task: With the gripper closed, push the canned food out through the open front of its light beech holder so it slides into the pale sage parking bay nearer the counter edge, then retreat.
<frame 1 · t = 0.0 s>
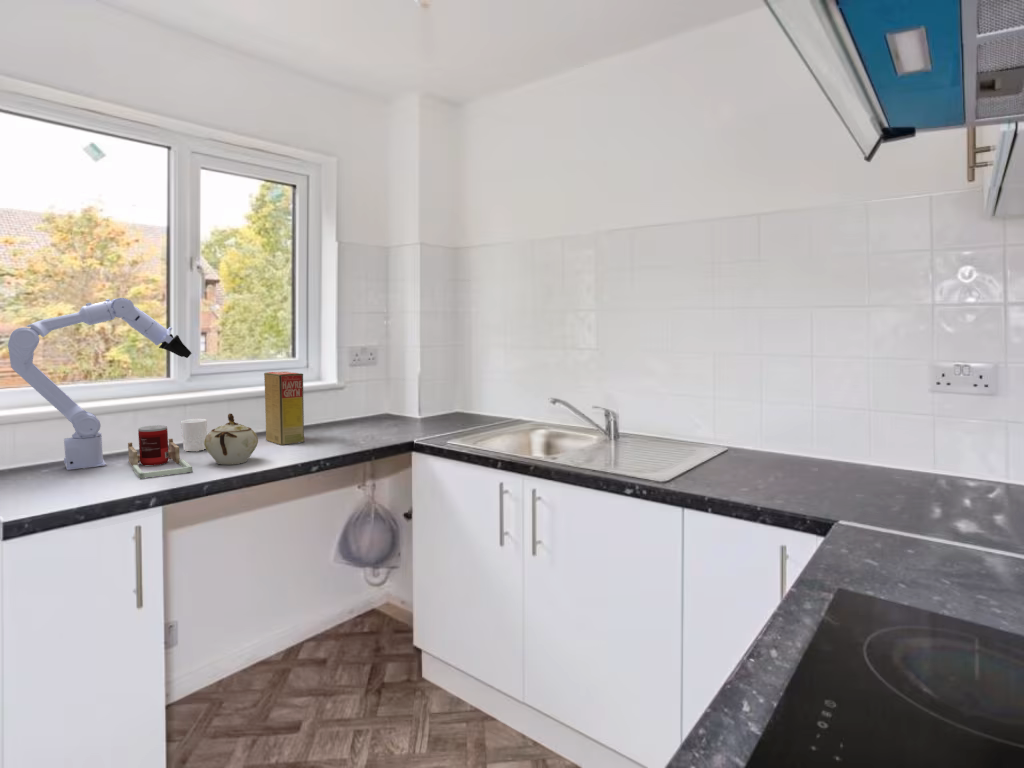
hand: (186, 355, 196), 32 cm above the worktop, tool tilted 50°, fingers open, 7 cm apart
food packaging: (285, 441, 221), on the worktop
canned food: (154, 463, 186), on the worktop
white cup: (195, 450, 206), on the worktop
holder: (154, 462, 186), on the worktop
sugar bowl: (232, 462, 188), on the worktop
bay: (162, 470, 176), on the worktop
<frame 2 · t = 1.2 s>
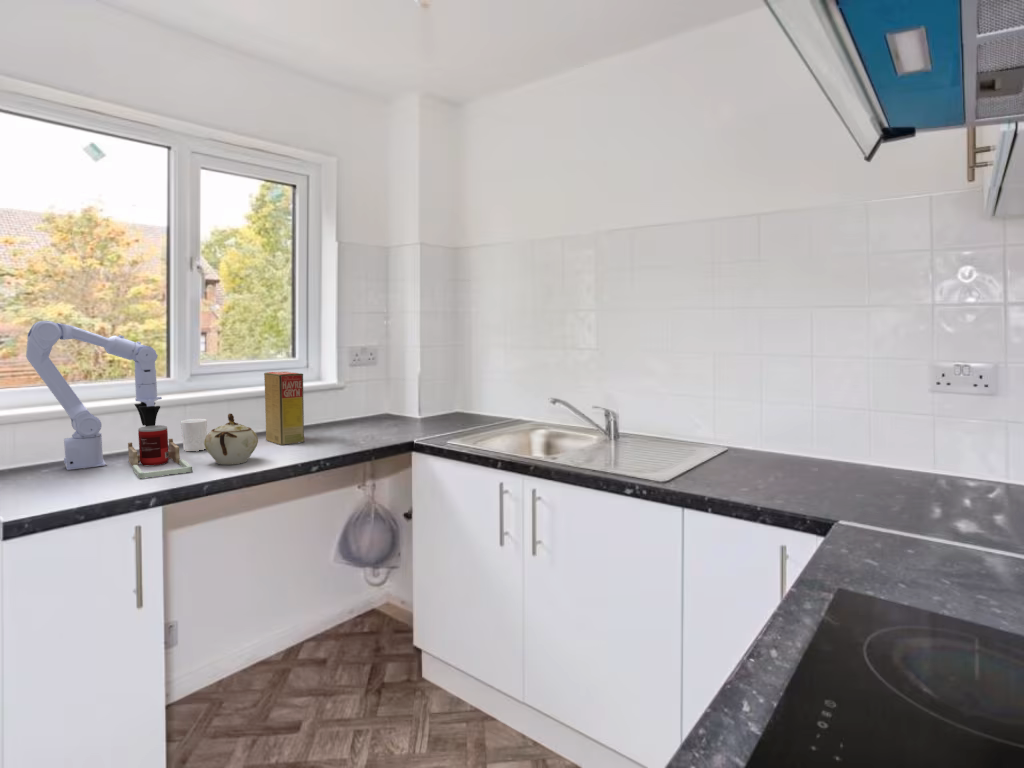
hand: (148, 426, 192), 10 cm above the worktop, tool pointing down, fingers open, 7 cm apart
nothing on the worktop moved.
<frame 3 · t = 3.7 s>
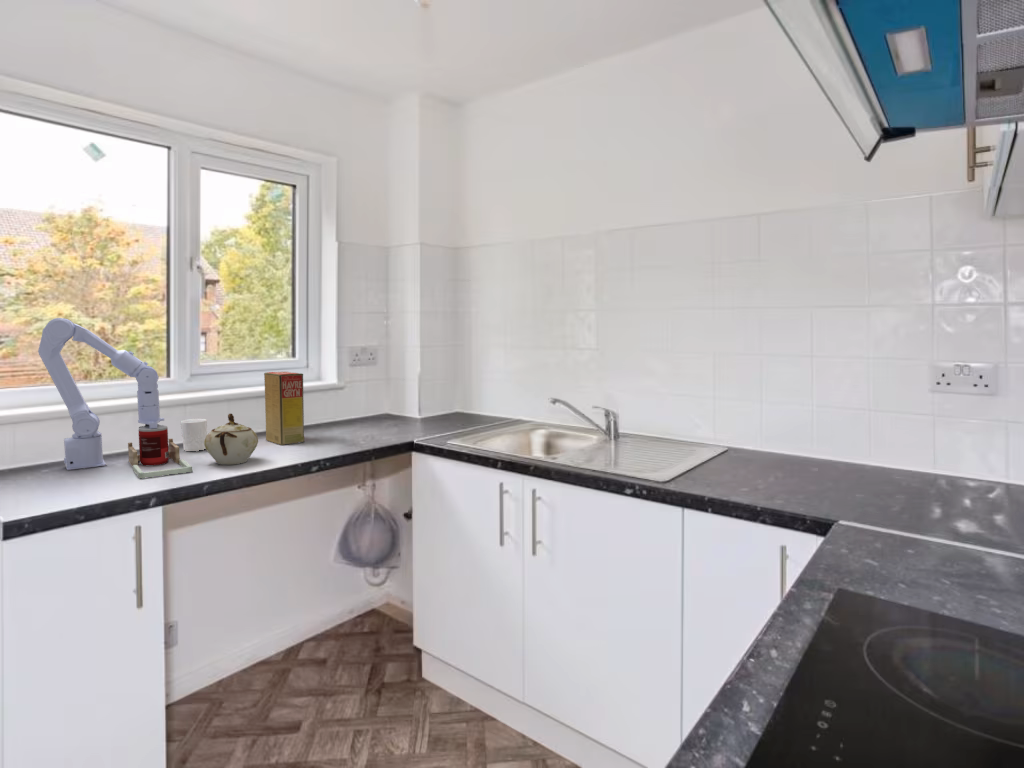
hand: (151, 448, 191), 3 cm above the worktop, tool pointing down, fingers closed
canned food: (154, 463, 186), on the worktop, touching gripper
everything else where it was.
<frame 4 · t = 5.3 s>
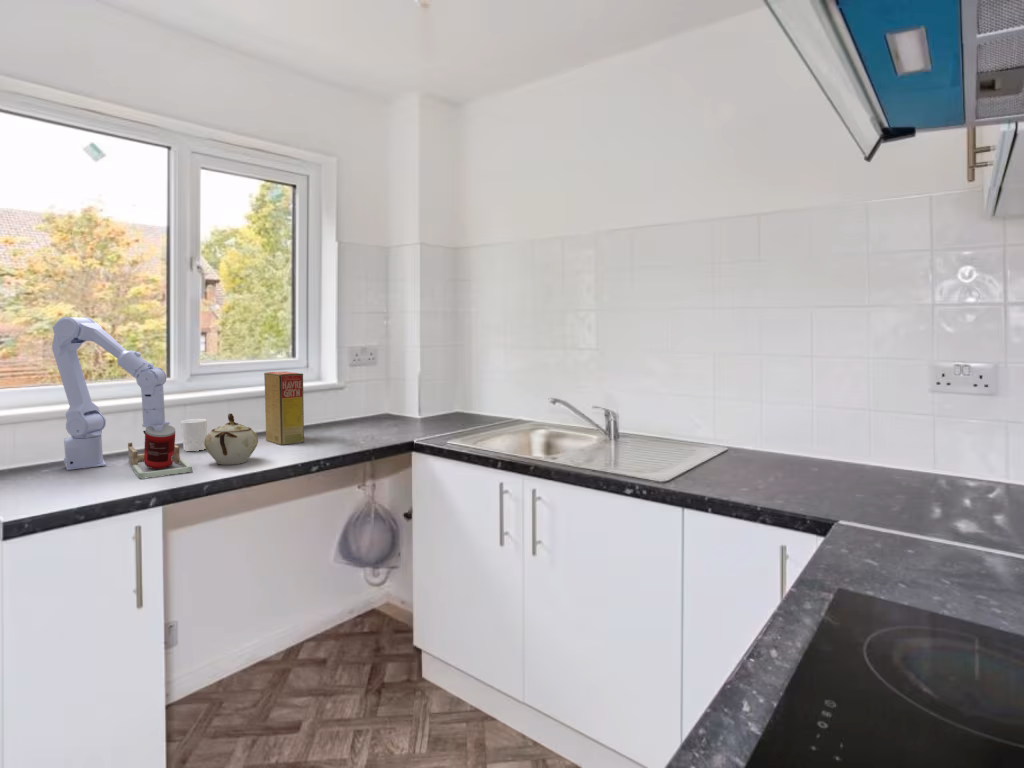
hand: (155, 453, 183), 3 cm above the worktop, tool pointing down, fingers closed
canned food: (158, 463, 181), point 1 cm above the worktop, touching gripper
everything else where it was.
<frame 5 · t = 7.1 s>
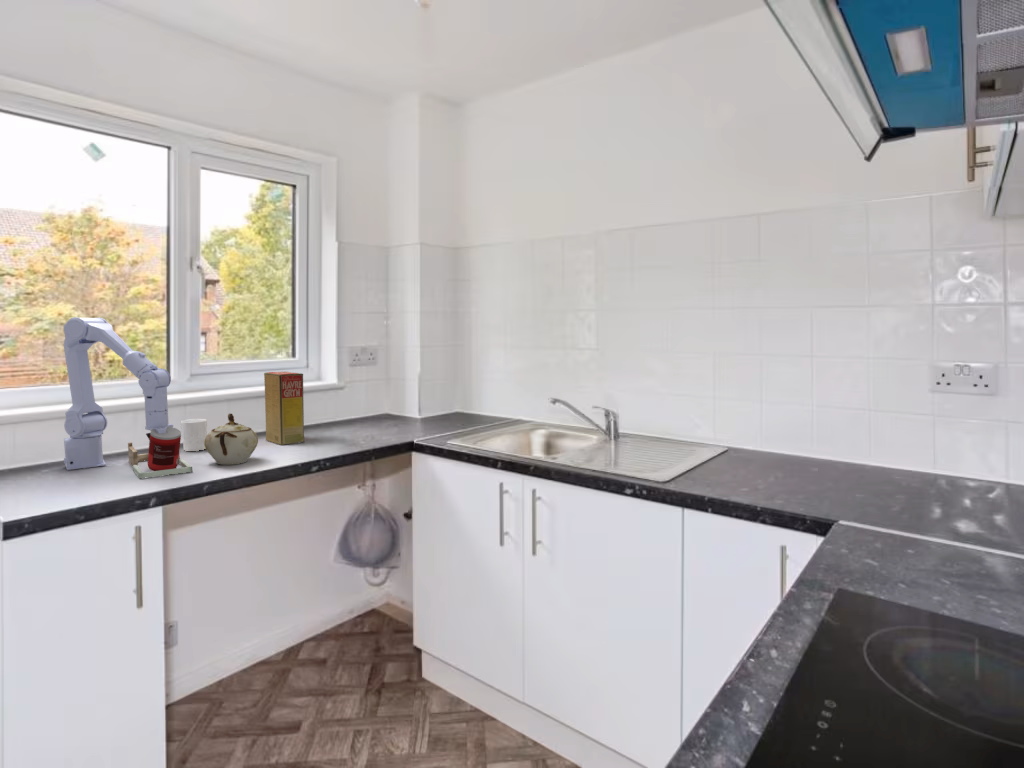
hand: (159, 456, 179), 3 cm above the worktop, tool pointing down, fingers closed
canned food: (162, 467, 176), point 1 cm above the worktop, touching gripper
everything else where it was.
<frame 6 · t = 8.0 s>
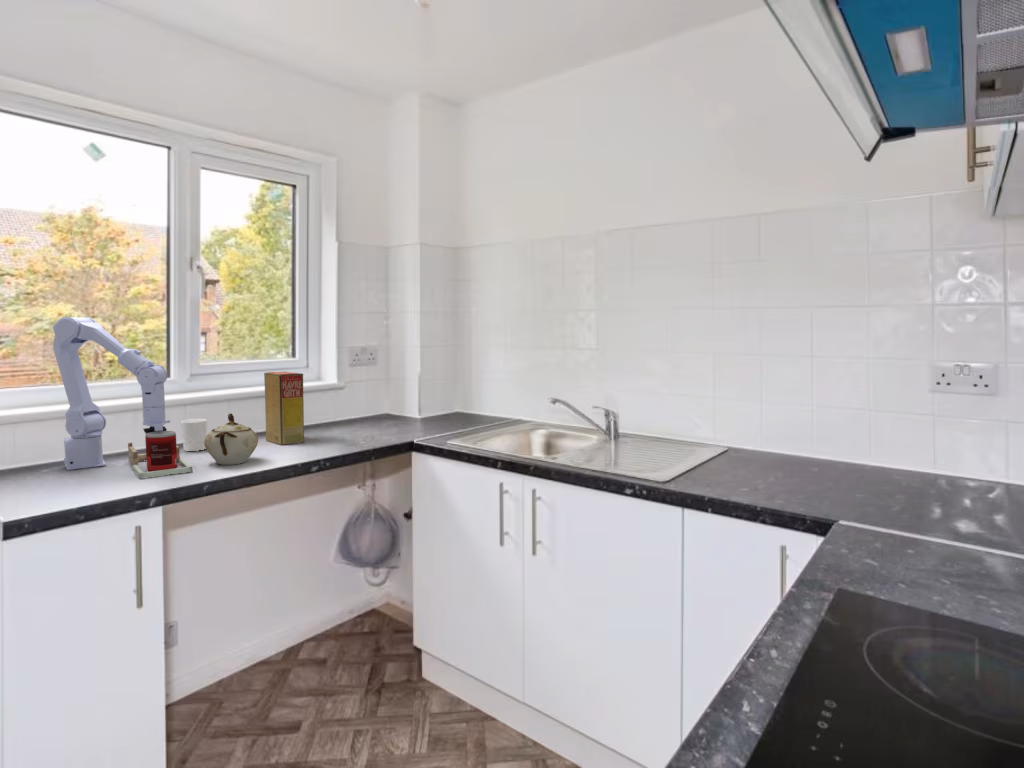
hand: (155, 451, 182), 4 cm above the worktop, tool pointing down, fingers closed
canned food: (162, 471, 176), on the worktop
everything else where it was.
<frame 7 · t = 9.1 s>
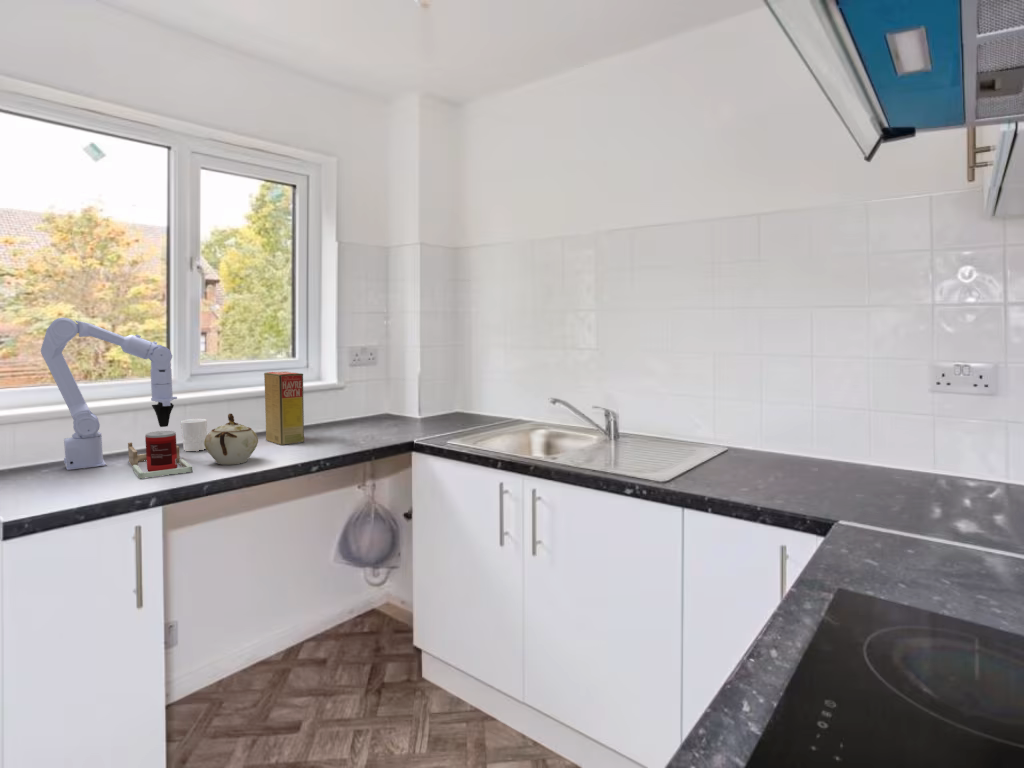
hand: (163, 426, 193), 10 cm above the worktop, tool pointing down, fingers closed
nothing on the worktop moved.
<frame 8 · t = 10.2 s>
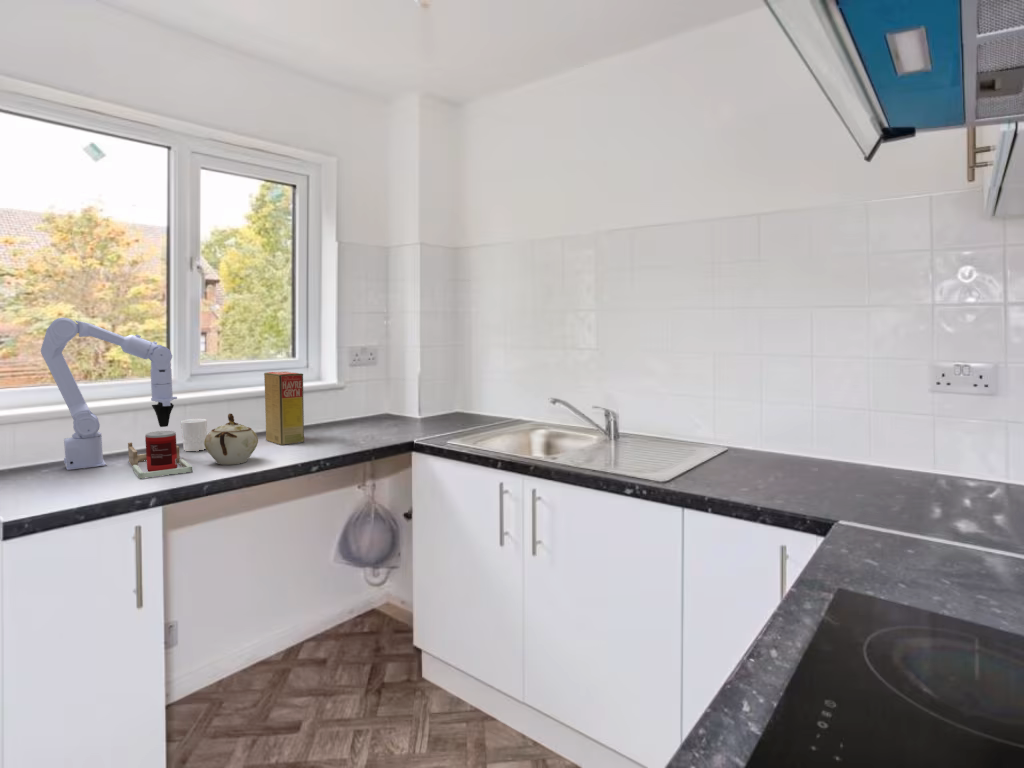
hand: (163, 426, 193), 10 cm above the worktop, tool pointing down, fingers closed
nothing on the worktop moved.
at the end: canned food inside the target area (1.1 cm from its centre), on the worktop; canned food tilted 0°; canned food moved 12.4 cm from its start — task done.
